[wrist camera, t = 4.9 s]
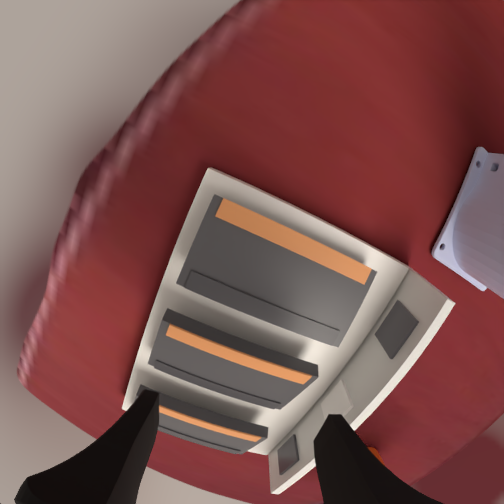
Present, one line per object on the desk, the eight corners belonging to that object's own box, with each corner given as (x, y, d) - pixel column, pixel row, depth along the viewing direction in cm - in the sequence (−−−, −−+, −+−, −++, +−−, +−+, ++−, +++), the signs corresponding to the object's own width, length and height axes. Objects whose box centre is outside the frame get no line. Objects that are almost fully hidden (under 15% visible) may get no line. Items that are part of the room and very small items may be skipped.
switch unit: (211, 167, 17) (192, 171, 11) (408, 266, 19) (455, 303, 13) (126, 397, 23) (106, 446, 17) (274, 445, 25) (278, 494, 19)
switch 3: (140, 383, 18) (135, 396, 17) (268, 427, 20) (267, 439, 19) (133, 408, 21) (129, 418, 20) (242, 444, 22) (241, 455, 21)
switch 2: (167, 307, 16) (161, 321, 15) (317, 364, 18) (318, 378, 17) (152, 352, 19) (146, 365, 18) (280, 398, 20) (280, 411, 19)
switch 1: (215, 194, 16) (214, 193, 15) (369, 268, 17) (378, 272, 16) (178, 279, 16) (175, 284, 15) (332, 340, 18) (338, 348, 16)
